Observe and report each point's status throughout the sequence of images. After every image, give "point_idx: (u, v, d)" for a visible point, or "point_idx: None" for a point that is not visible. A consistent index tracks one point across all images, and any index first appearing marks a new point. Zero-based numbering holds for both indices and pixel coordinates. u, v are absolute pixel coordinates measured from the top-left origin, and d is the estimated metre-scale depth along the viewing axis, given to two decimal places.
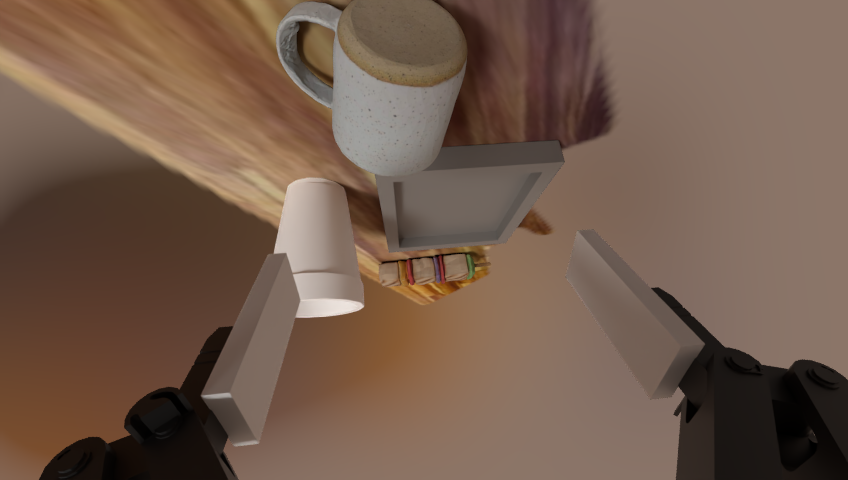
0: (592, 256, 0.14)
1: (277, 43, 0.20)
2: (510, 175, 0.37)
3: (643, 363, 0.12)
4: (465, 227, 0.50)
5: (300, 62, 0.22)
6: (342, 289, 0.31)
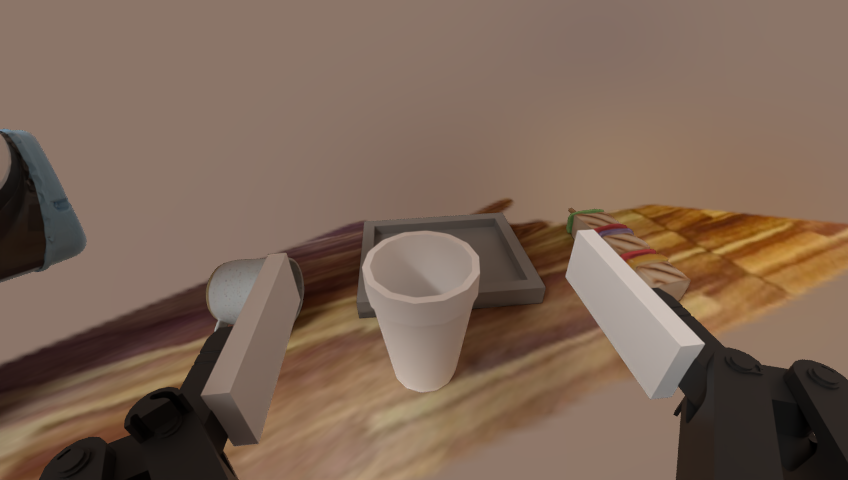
0: (592, 256, 0.14)
1: None
2: None
3: (643, 363, 0.12)
4: (487, 245, 0.50)
5: None
6: None
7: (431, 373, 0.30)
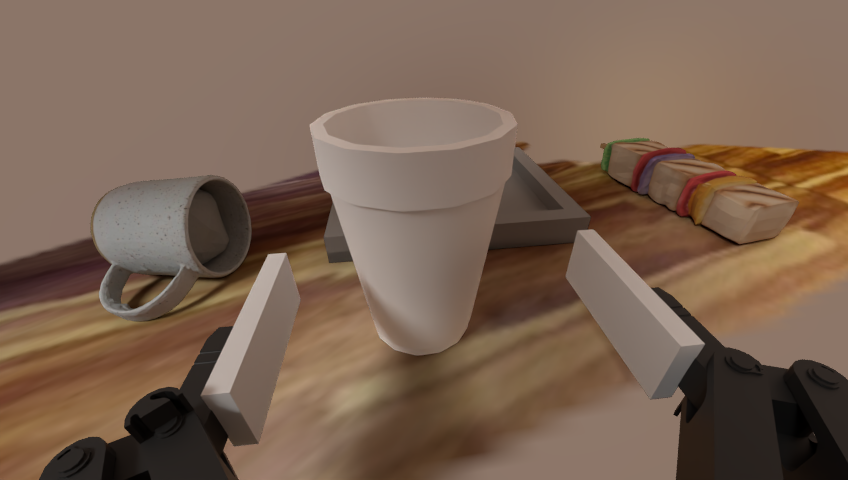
0: (592, 256, 0.14)
1: (117, 311, 0.23)
2: None
3: (643, 363, 0.12)
4: None
5: None
6: None
7: (432, 319, 0.18)
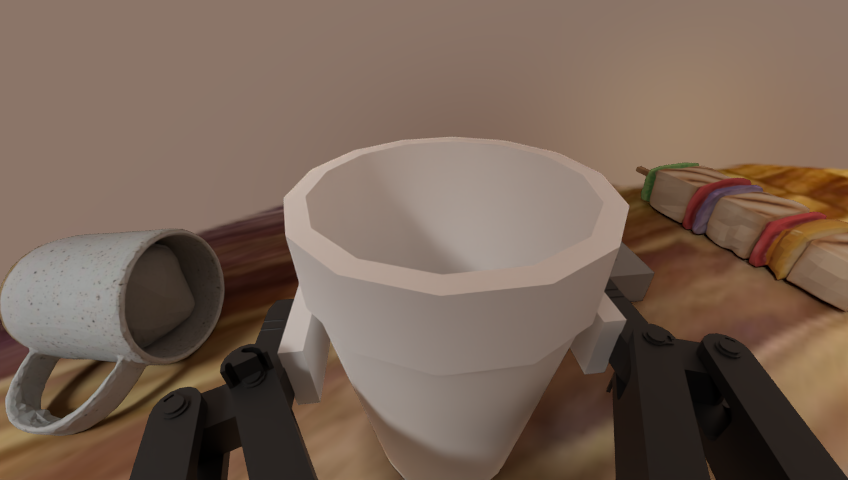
0: None
1: (25, 428, 0.16)
2: None
3: (579, 341, 0.13)
4: None
5: None
6: None
7: (469, 469, 0.13)
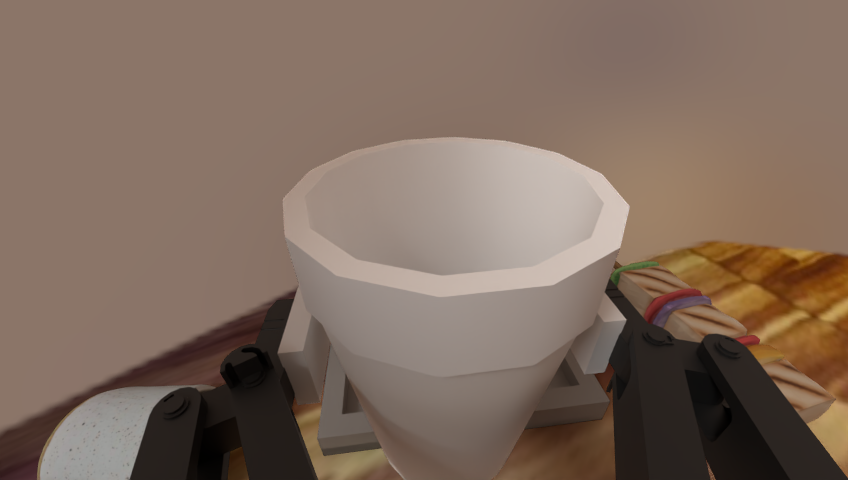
0: None
1: None
2: None
3: (579, 341, 0.13)
4: None
5: None
6: None
7: (469, 470, 0.12)
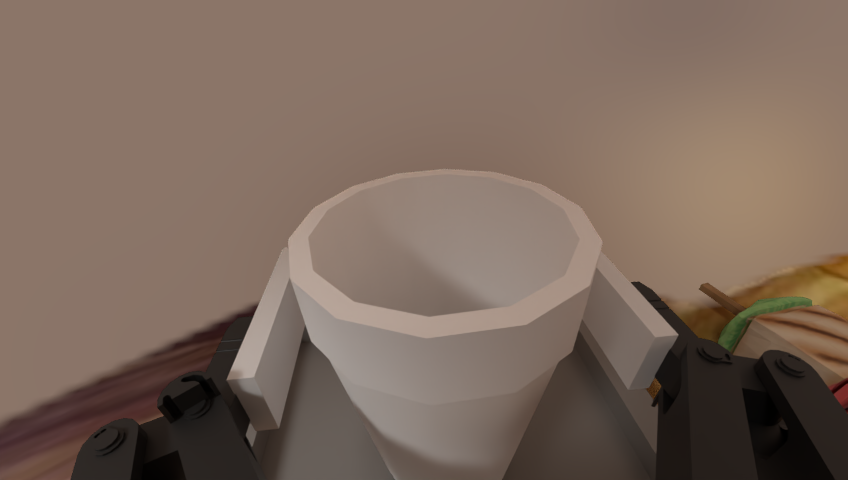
0: None
1: None
2: (330, 366, 0.22)
3: (622, 355, 0.12)
4: (556, 384, 0.21)
5: None
6: None
7: None
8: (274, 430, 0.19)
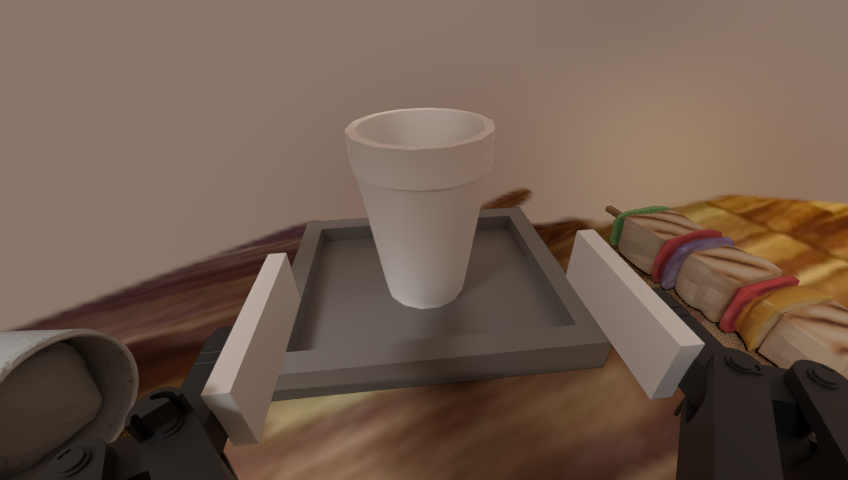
0: (592, 256, 0.14)
1: None
2: (350, 252, 0.33)
3: (643, 363, 0.12)
4: (498, 258, 0.31)
5: None
6: None
7: (434, 277, 0.24)
8: (317, 279, 0.30)
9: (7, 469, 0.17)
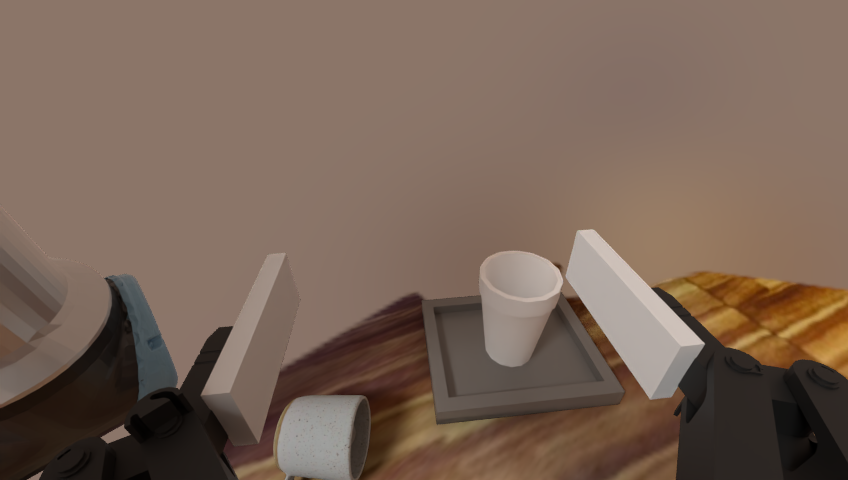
0: (592, 256, 0.14)
1: None
2: (453, 323, 0.51)
3: (643, 363, 0.12)
4: (550, 328, 0.50)
5: None
6: None
7: (522, 352, 0.43)
8: (440, 344, 0.48)
9: None
